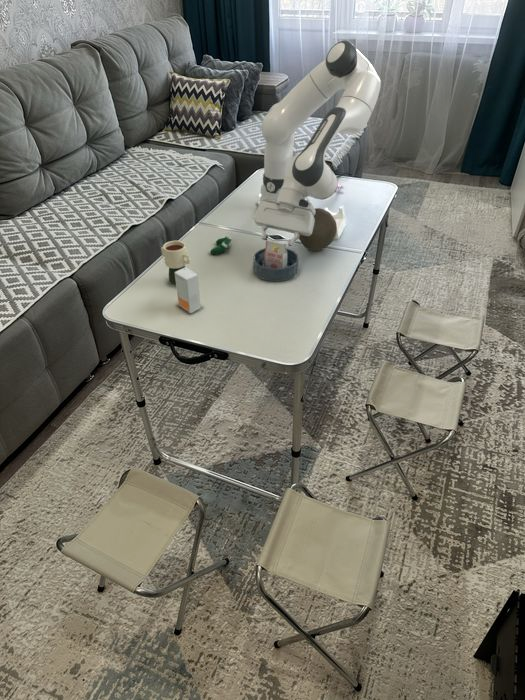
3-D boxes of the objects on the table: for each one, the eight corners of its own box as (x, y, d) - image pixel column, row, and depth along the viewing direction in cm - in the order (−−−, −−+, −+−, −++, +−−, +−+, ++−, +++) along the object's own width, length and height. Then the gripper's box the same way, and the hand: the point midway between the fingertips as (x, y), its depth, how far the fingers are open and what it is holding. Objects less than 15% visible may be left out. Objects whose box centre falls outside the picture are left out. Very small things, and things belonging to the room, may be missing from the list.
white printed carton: (268, 264, 173) (269, 237, 167) (287, 268, 171) (287, 242, 165) (264, 269, 171) (264, 242, 165) (282, 274, 169) (283, 246, 162)
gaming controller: (216, 260, 181) (227, 250, 177) (209, 252, 179) (220, 242, 176) (223, 247, 188) (234, 238, 184) (216, 240, 186) (226, 231, 183)
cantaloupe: (293, 241, 188) (294, 202, 178) (331, 239, 189) (334, 201, 179) (298, 260, 177) (300, 220, 167) (338, 258, 178) (342, 218, 168)
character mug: (198, 280, 167) (195, 245, 158) (185, 291, 162) (181, 254, 154) (172, 272, 171) (167, 237, 163) (158, 282, 166) (153, 246, 158)
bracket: (328, 225, 200) (325, 207, 196) (346, 224, 197) (343, 205, 193) (320, 240, 190) (316, 221, 186) (338, 238, 187) (335, 219, 183)
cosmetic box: (178, 305, 155) (173, 271, 148) (189, 300, 158) (185, 266, 150) (190, 314, 152) (186, 279, 144) (201, 308, 154) (198, 274, 147)
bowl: (267, 255, 179) (267, 243, 176) (305, 266, 173) (306, 253, 170) (245, 275, 169) (244, 261, 166) (284, 287, 164) (284, 273, 160)
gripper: (258, 193, 168) (245, 232, 167) (316, 204, 161) (303, 245, 161) (264, 201, 174) (251, 239, 173) (320, 212, 167) (307, 252, 166)
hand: (276, 242), depth 167 cm, fingers open, 8 cm apart
